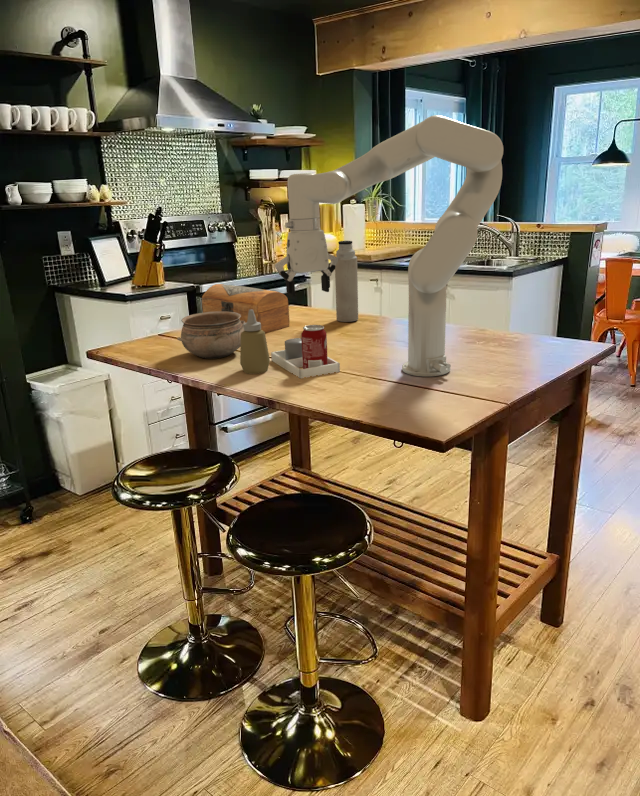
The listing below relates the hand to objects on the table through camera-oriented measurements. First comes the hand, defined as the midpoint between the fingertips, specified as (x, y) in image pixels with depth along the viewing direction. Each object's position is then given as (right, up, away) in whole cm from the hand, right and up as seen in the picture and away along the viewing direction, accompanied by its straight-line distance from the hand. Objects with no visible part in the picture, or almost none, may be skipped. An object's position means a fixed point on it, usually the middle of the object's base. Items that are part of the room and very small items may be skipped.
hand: (308, 293), depth 164 cm
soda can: (+2, -20, +7) cm, 21 cm away
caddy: (-1, -19, +12) cm, 23 cm away
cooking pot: (-29, -15, +27) cm, 42 cm away
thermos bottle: (+13, +1, +67) cm, 68 cm away
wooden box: (-24, -1, +65) cm, 69 cm away
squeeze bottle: (-15, -21, +9) cm, 27 cm away
